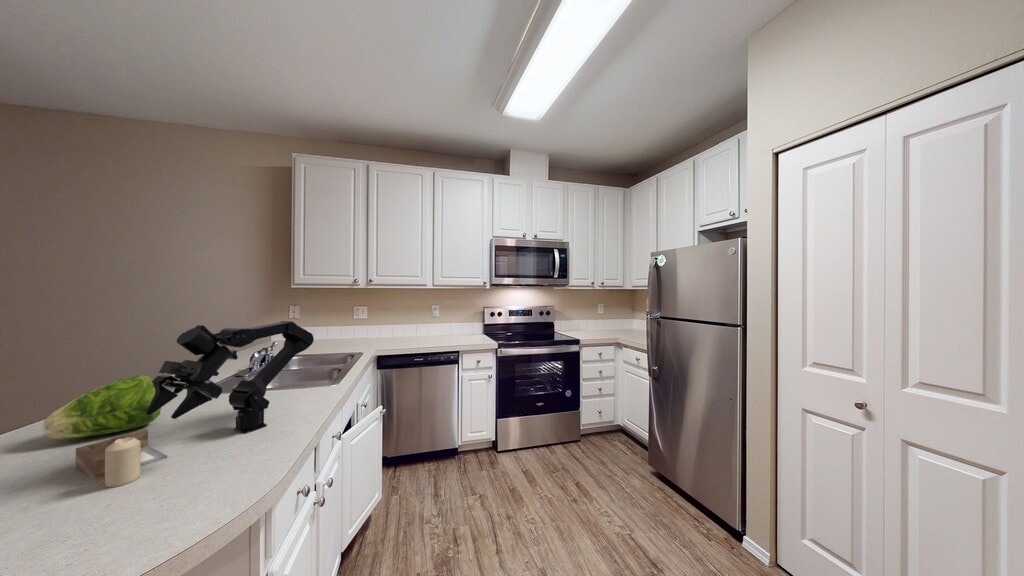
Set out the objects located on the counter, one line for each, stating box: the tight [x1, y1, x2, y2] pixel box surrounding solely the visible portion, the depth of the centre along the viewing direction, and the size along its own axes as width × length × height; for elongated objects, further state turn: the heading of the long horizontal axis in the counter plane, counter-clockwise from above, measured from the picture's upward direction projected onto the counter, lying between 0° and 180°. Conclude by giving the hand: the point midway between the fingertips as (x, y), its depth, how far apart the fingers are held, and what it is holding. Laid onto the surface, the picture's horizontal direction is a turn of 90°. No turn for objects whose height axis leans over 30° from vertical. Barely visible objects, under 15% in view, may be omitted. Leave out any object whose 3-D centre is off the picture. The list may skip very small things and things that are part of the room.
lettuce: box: [42, 374, 162, 440], centre depth 104 cm, size 17×23×16 cm
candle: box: [104, 437, 141, 488], centre depth 79 cm, size 6×6×10 cm
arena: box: [75, 428, 168, 483], centre depth 87 cm, size 12×14×5 cm
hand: (159, 416), depth 86 cm, fingers open, 9 cm apart
